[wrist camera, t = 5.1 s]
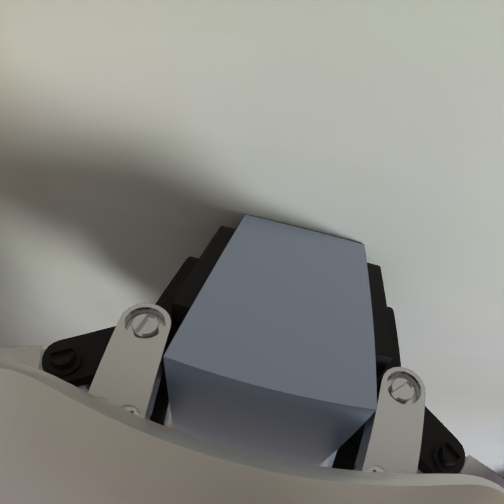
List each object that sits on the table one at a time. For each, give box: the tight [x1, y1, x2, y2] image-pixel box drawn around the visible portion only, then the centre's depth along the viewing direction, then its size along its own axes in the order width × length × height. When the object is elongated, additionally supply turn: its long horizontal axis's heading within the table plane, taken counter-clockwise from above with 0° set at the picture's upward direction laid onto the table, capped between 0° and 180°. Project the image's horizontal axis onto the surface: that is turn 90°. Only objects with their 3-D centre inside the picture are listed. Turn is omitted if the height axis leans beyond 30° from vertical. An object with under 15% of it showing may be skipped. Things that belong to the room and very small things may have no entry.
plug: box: [163, 214, 377, 466], centre depth 9 cm, size 4×7×6 cm, turn 172°
